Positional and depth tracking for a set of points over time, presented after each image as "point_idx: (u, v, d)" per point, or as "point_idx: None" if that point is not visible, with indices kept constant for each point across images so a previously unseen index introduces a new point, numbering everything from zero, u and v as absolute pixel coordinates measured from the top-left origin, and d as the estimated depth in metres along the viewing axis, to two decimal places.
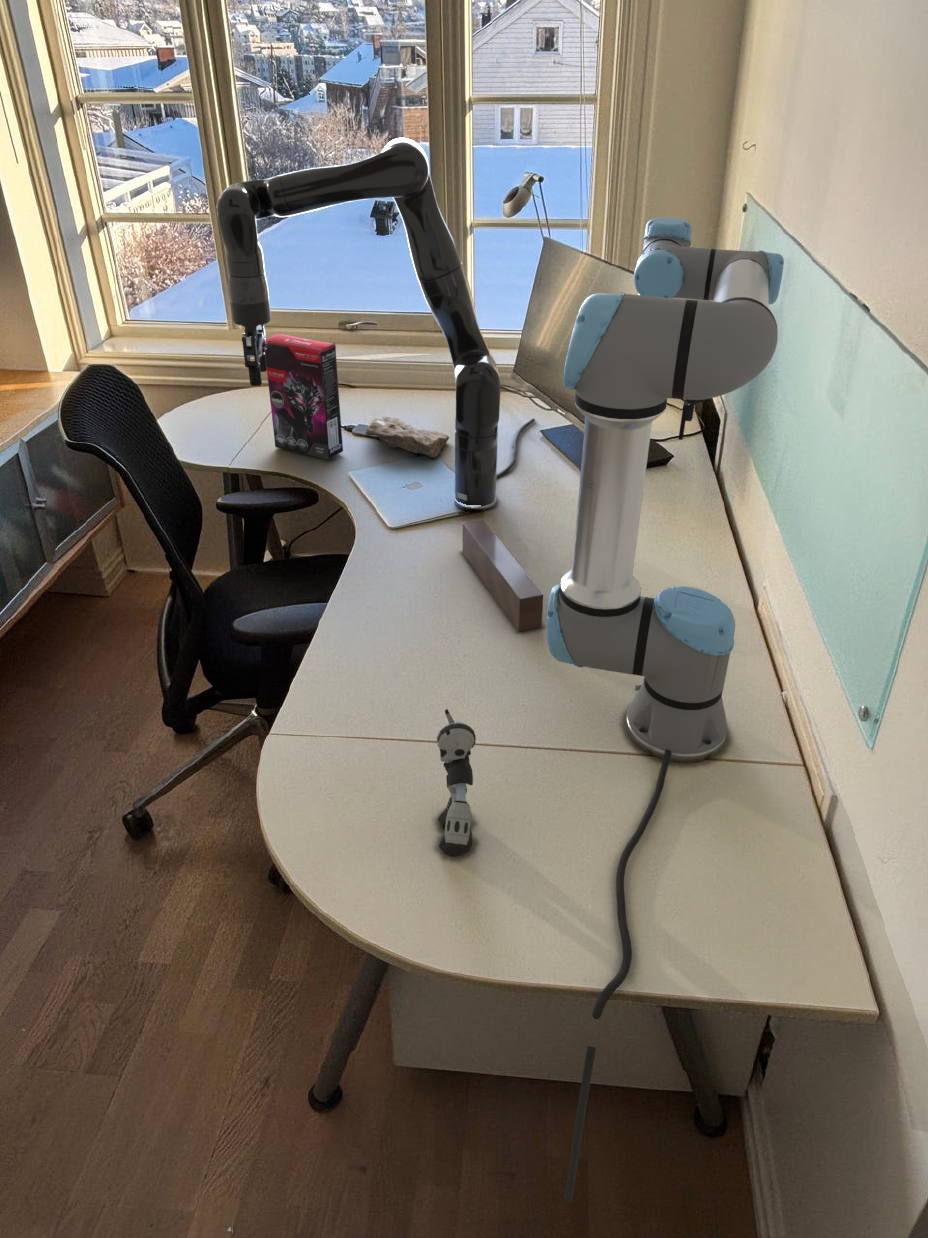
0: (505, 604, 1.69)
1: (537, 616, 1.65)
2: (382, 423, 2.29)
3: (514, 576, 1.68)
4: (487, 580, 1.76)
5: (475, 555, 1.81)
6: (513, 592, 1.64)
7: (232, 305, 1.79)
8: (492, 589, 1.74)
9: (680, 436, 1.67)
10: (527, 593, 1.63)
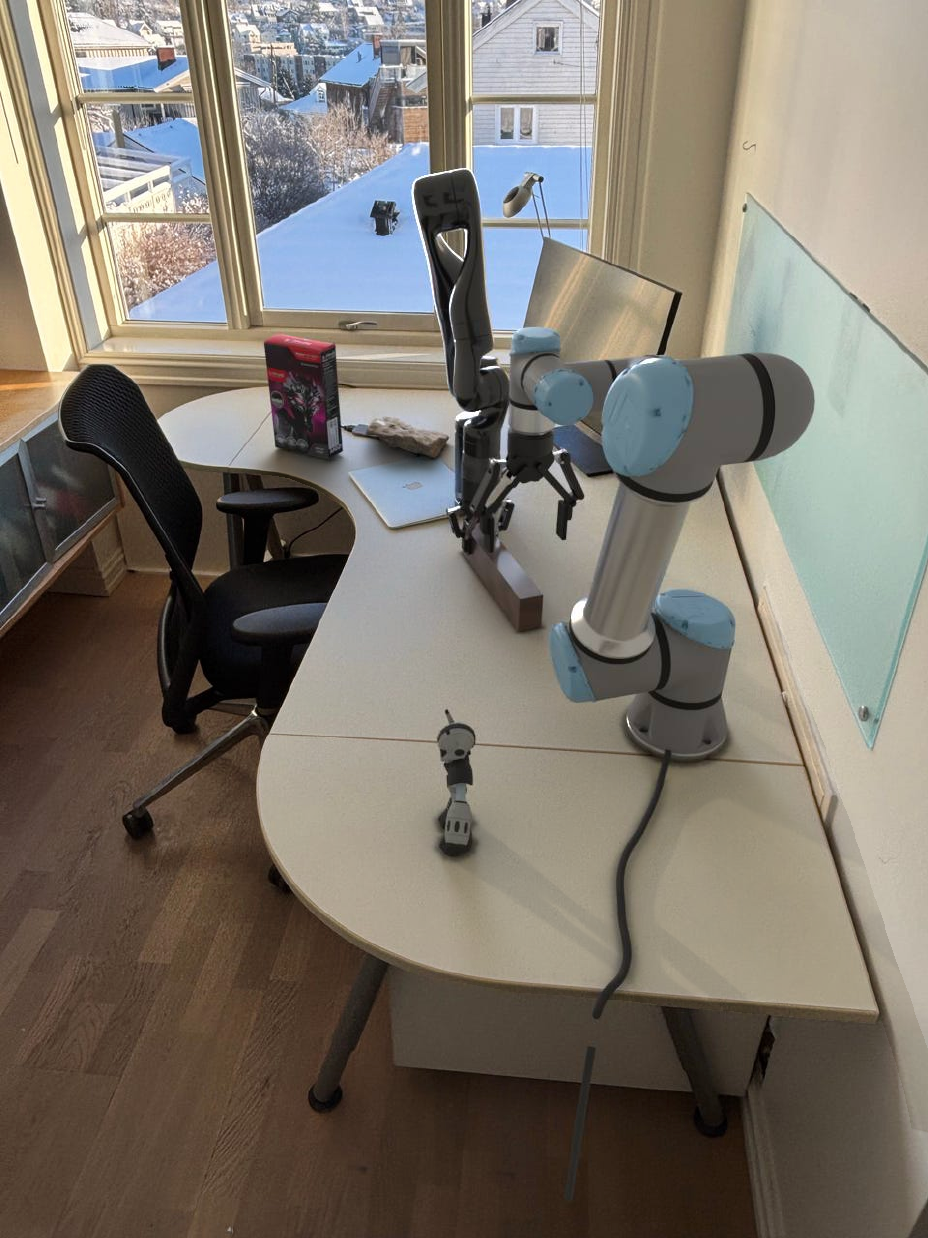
0: (505, 604, 1.69)
1: (537, 616, 1.65)
2: (382, 423, 2.29)
3: (514, 576, 1.68)
4: (487, 580, 1.76)
5: (475, 555, 1.81)
6: (513, 592, 1.64)
7: (497, 482, 1.74)
8: (492, 589, 1.74)
9: (564, 537, 1.61)
10: (527, 593, 1.63)
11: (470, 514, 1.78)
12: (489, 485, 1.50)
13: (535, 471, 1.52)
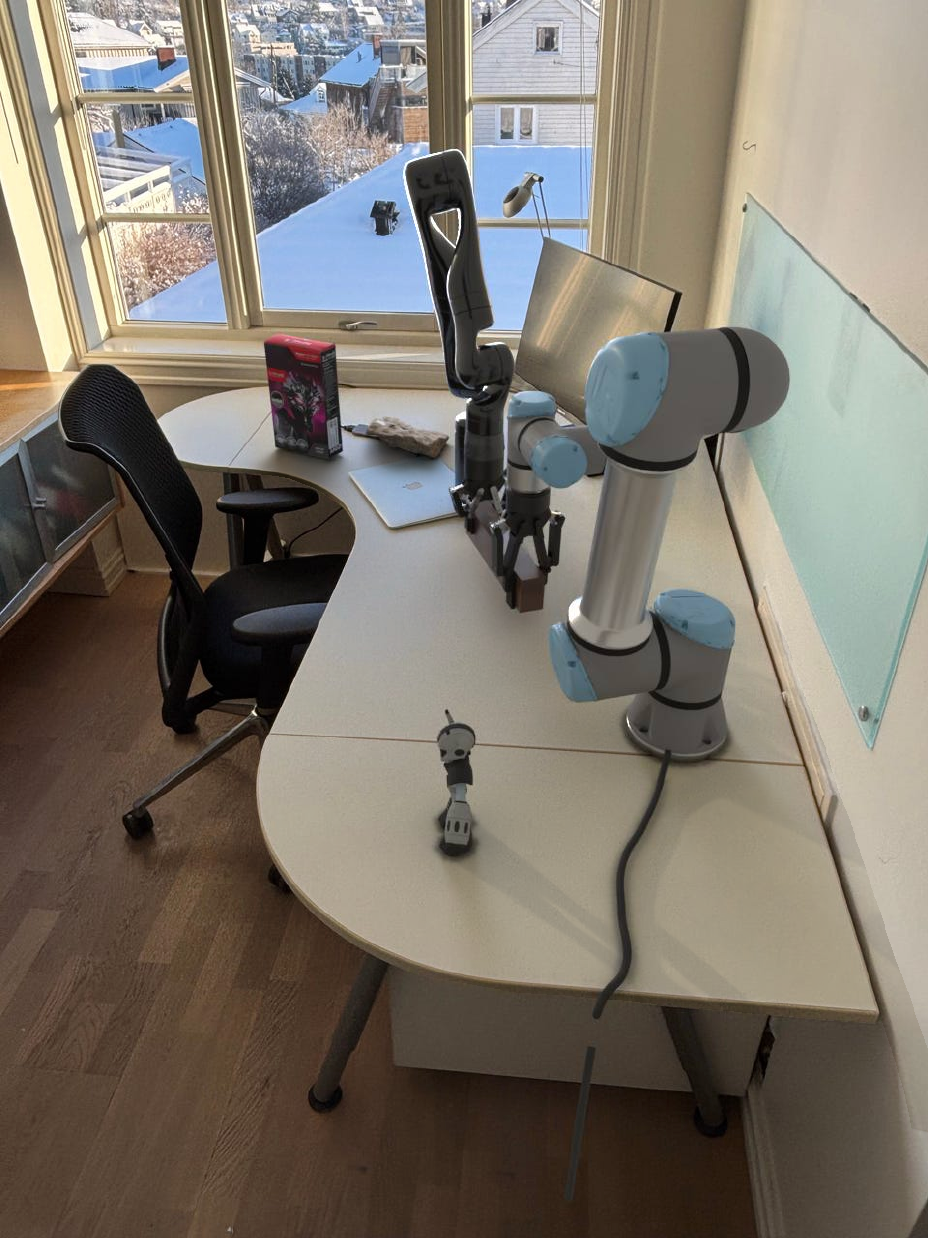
0: None
1: (539, 598, 1.63)
2: (382, 423, 2.29)
3: None
4: (490, 560, 1.74)
5: (478, 535, 1.78)
6: (515, 573, 1.62)
7: (500, 460, 1.72)
8: None
9: None
10: (529, 574, 1.61)
11: (473, 493, 1.76)
12: (498, 547, 1.57)
13: (533, 526, 1.58)
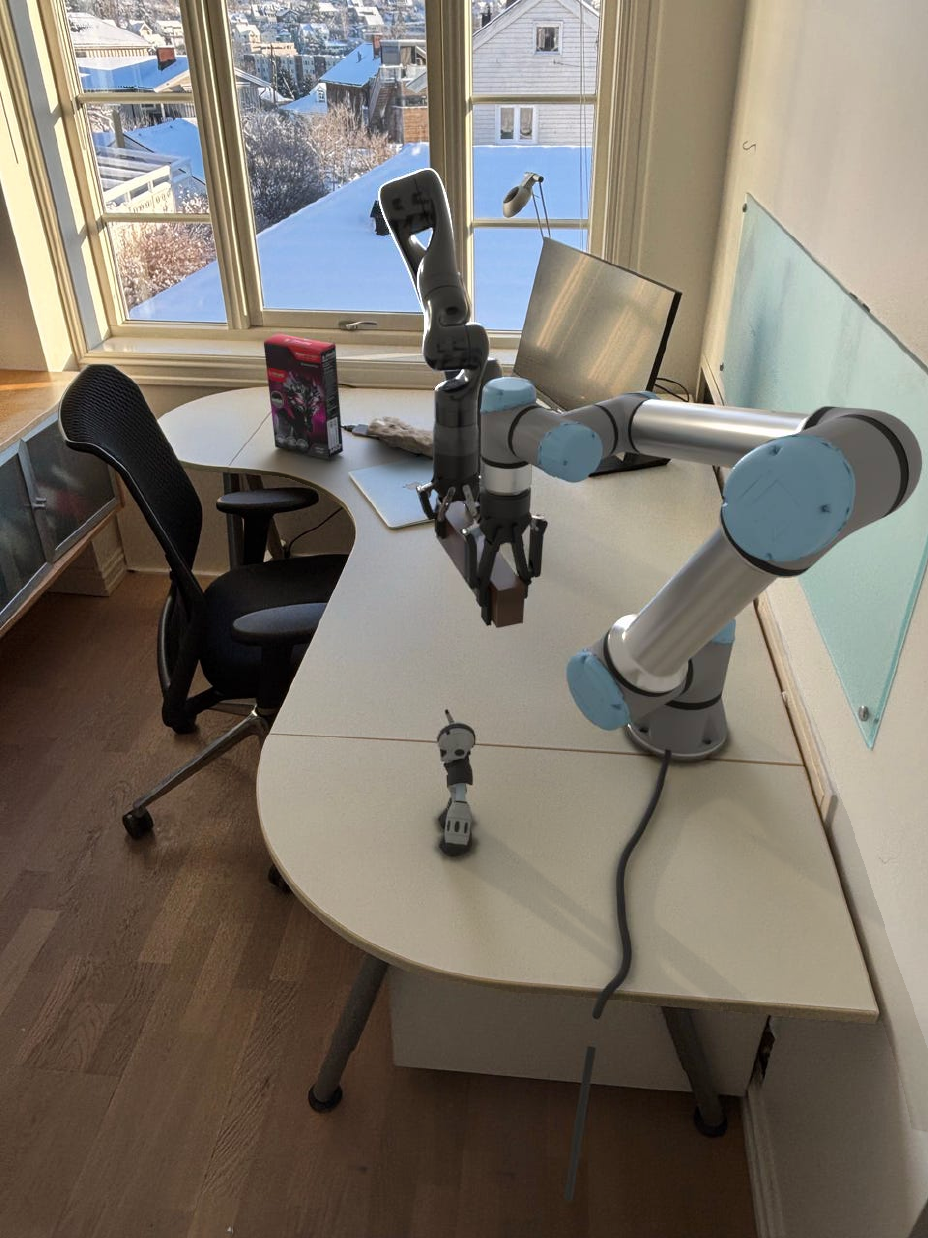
0: None
1: (518, 610, 1.44)
2: (382, 423, 2.29)
3: None
4: (463, 568, 1.55)
5: (450, 540, 1.59)
6: (490, 582, 1.43)
7: (473, 456, 1.53)
8: None
9: None
10: (506, 584, 1.42)
11: (443, 492, 1.57)
12: (471, 556, 1.38)
13: (511, 532, 1.38)
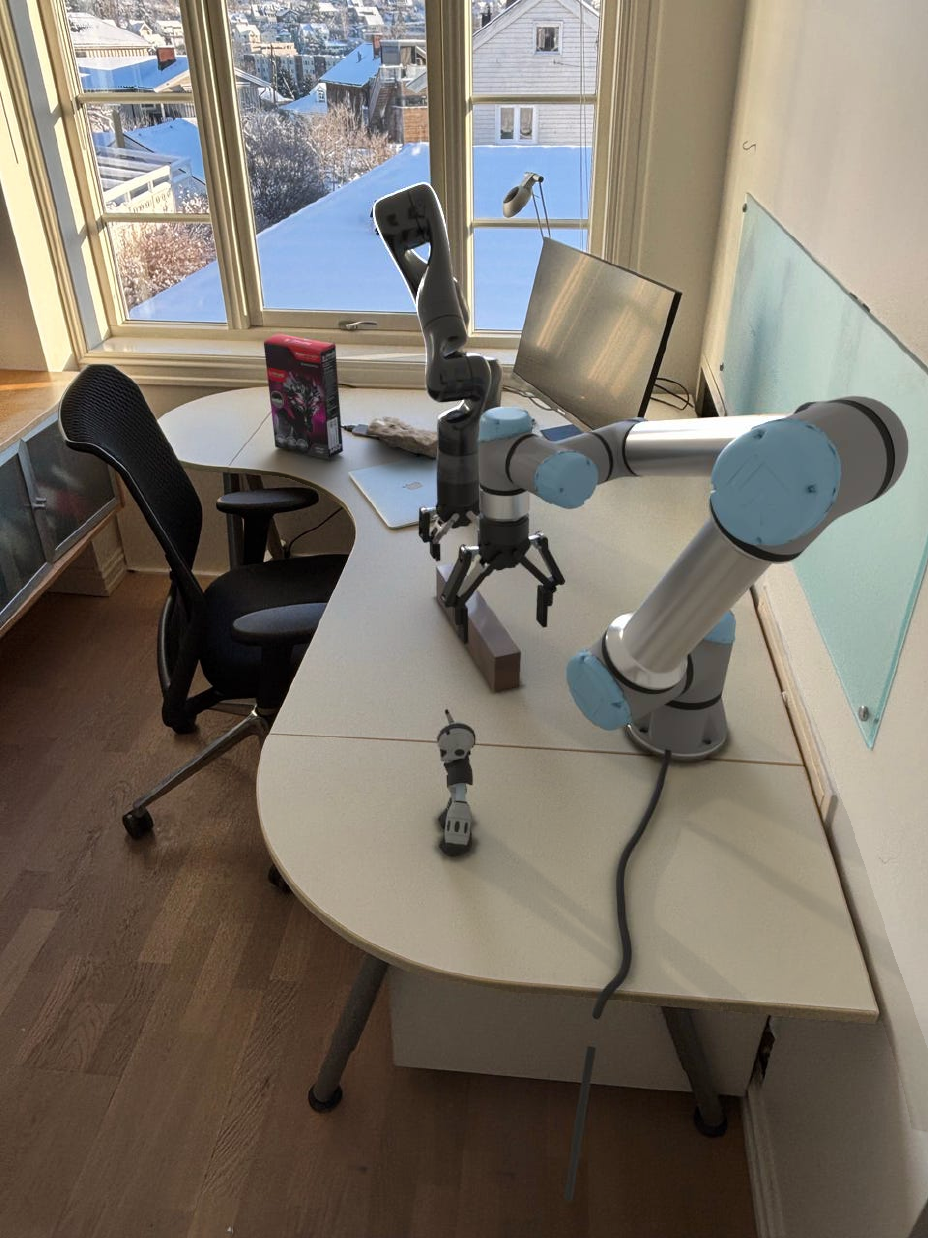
0: (480, 659, 1.55)
1: (515, 674, 1.50)
2: (382, 423, 2.29)
3: (489, 629, 1.53)
4: None
5: None
6: (488, 649, 1.50)
7: (476, 483, 1.55)
8: None
9: (544, 624, 1.49)
10: (503, 650, 1.49)
11: (446, 516, 1.59)
12: (460, 574, 1.39)
13: (510, 558, 1.41)
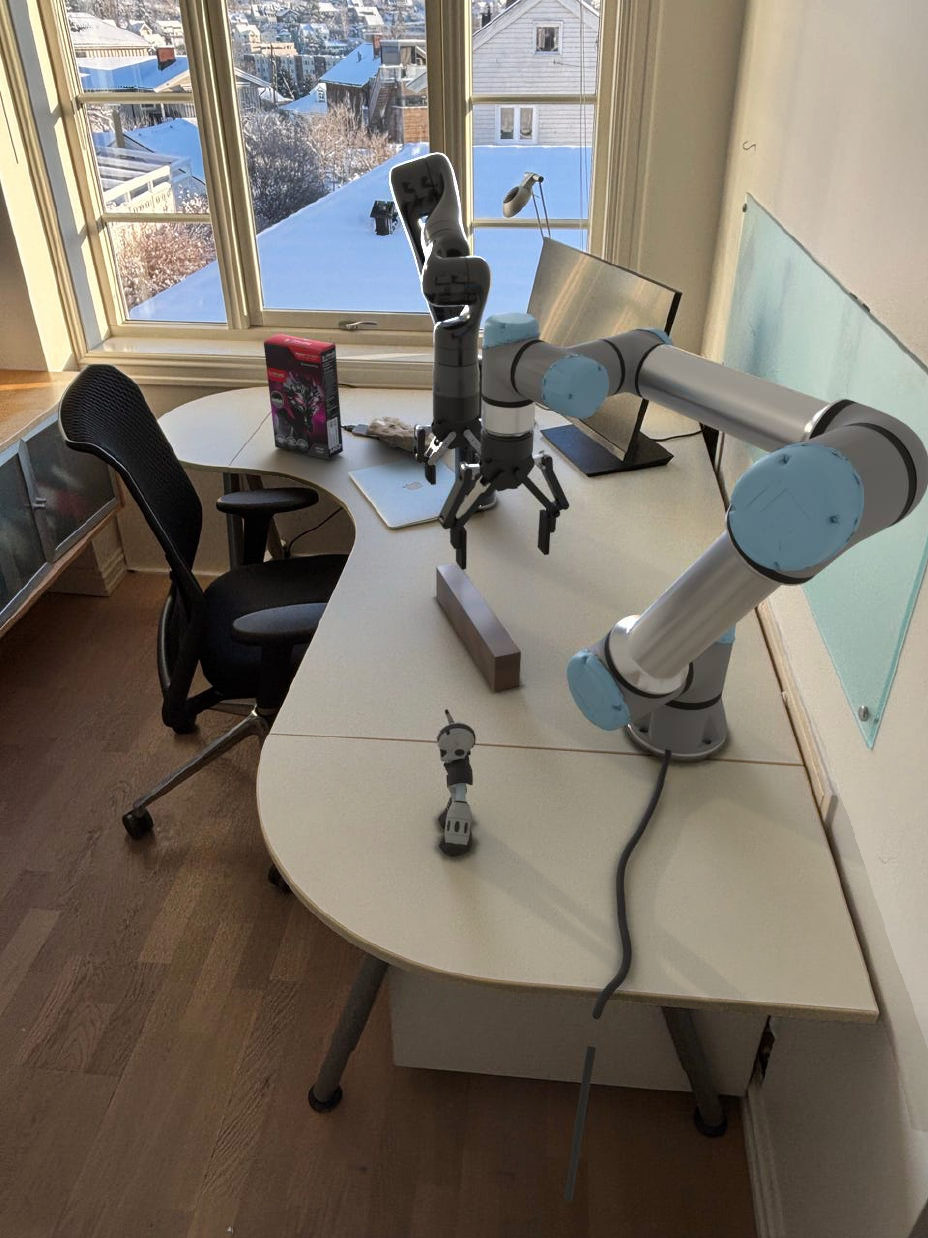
0: (480, 659, 1.55)
1: (515, 674, 1.50)
2: (382, 423, 2.29)
3: (489, 629, 1.53)
4: (462, 631, 1.62)
5: (449, 603, 1.66)
6: (488, 649, 1.50)
7: (474, 398, 1.47)
8: (467, 642, 1.60)
9: (546, 551, 1.42)
10: (503, 650, 1.49)
11: (443, 435, 1.51)
12: (459, 493, 1.32)
13: (513, 478, 1.33)
